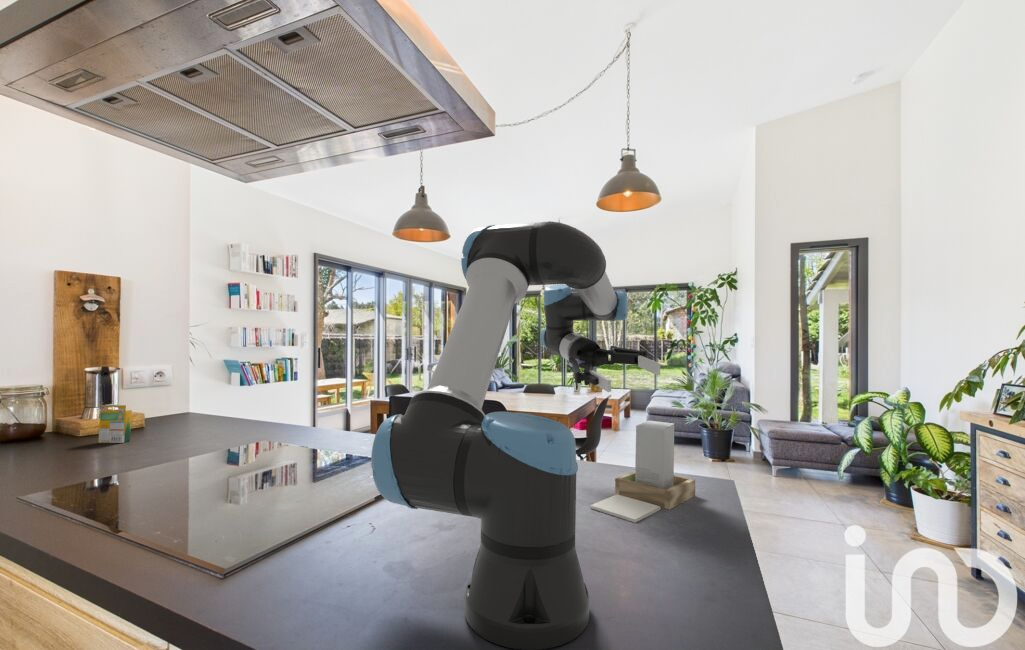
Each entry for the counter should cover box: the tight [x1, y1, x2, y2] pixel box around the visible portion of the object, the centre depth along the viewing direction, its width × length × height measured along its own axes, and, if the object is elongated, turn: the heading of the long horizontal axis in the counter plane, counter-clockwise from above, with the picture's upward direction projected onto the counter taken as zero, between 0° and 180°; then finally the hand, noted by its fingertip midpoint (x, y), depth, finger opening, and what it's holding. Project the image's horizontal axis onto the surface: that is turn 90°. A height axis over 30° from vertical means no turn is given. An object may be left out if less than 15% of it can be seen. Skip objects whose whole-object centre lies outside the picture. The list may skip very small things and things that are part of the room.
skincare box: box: [634, 420, 675, 490], centre depth 100 cm, size 8×7×16 cm
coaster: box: [589, 494, 662, 523], centre depth 91 cm, size 10×10×1 cm
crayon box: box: [97, 404, 133, 444], centre depth 142 cm, size 7×3×12 cm, turn 97°
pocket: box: [614, 470, 696, 510], centre depth 100 cm, size 12×12×4 cm
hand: (635, 377), depth 99 cm, fingers open, 13 cm apart
